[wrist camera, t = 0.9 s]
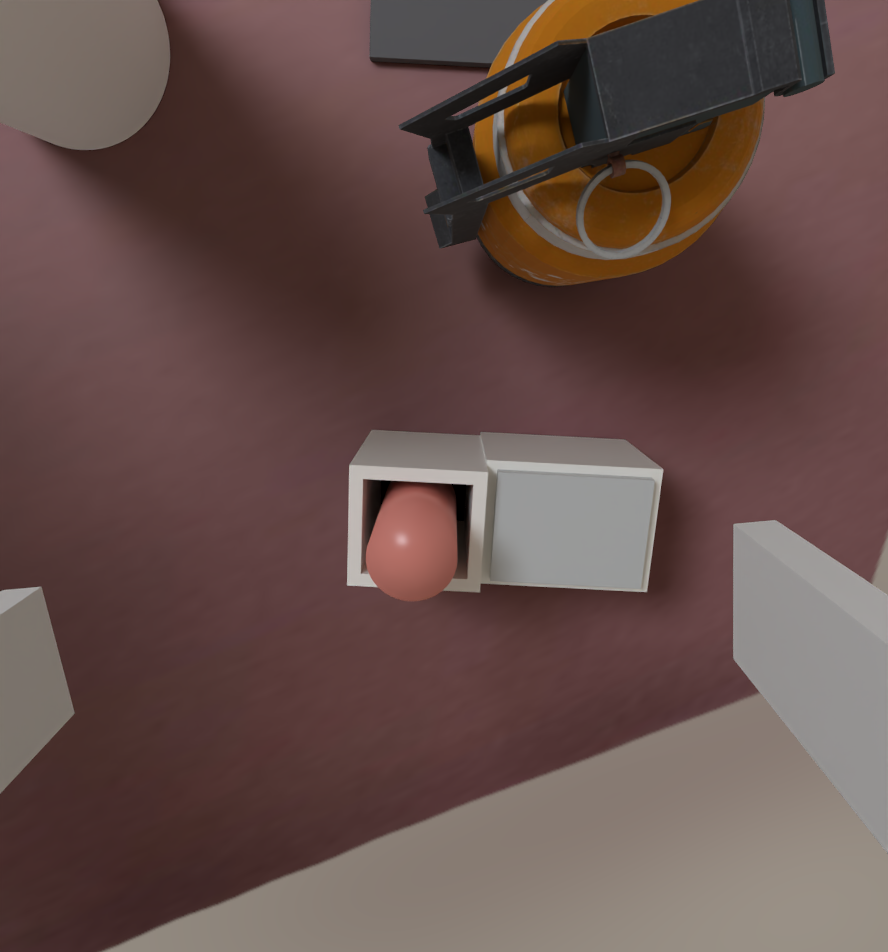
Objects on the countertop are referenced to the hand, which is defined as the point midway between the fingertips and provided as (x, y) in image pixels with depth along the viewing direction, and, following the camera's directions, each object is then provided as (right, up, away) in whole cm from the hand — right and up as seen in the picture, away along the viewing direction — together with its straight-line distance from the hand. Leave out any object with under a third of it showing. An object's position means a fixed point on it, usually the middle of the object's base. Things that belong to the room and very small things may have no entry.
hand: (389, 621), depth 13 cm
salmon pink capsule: (0, +1, +22) cm, 22 cm away
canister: (+6, +17, +22) cm, 28 cm away
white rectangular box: (+4, +2, +25) cm, 26 cm away
